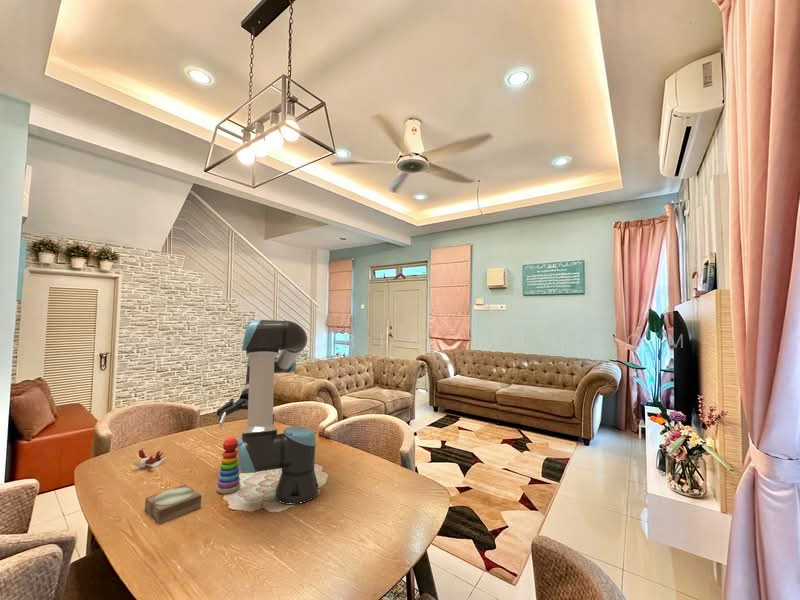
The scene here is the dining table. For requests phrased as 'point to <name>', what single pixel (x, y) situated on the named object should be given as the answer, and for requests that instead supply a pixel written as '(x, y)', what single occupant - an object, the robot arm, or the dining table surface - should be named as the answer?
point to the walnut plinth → (172, 503)
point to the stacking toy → (229, 468)
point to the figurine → (149, 459)
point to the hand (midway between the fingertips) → (238, 426)
